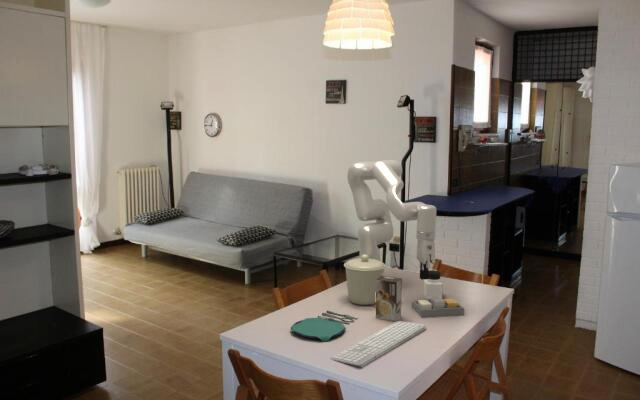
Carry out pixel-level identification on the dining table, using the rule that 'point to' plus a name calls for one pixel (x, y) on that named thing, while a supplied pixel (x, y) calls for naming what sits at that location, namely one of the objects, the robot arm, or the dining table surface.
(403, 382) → the dining table surface
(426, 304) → the key cream
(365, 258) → the canister
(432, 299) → the key grey
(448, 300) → the yellow rectangular block
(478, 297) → the dining table surface
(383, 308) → the coffee box
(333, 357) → the keyboard
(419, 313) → the keypad frame
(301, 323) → the cutlery set
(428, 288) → the medicine bottle
